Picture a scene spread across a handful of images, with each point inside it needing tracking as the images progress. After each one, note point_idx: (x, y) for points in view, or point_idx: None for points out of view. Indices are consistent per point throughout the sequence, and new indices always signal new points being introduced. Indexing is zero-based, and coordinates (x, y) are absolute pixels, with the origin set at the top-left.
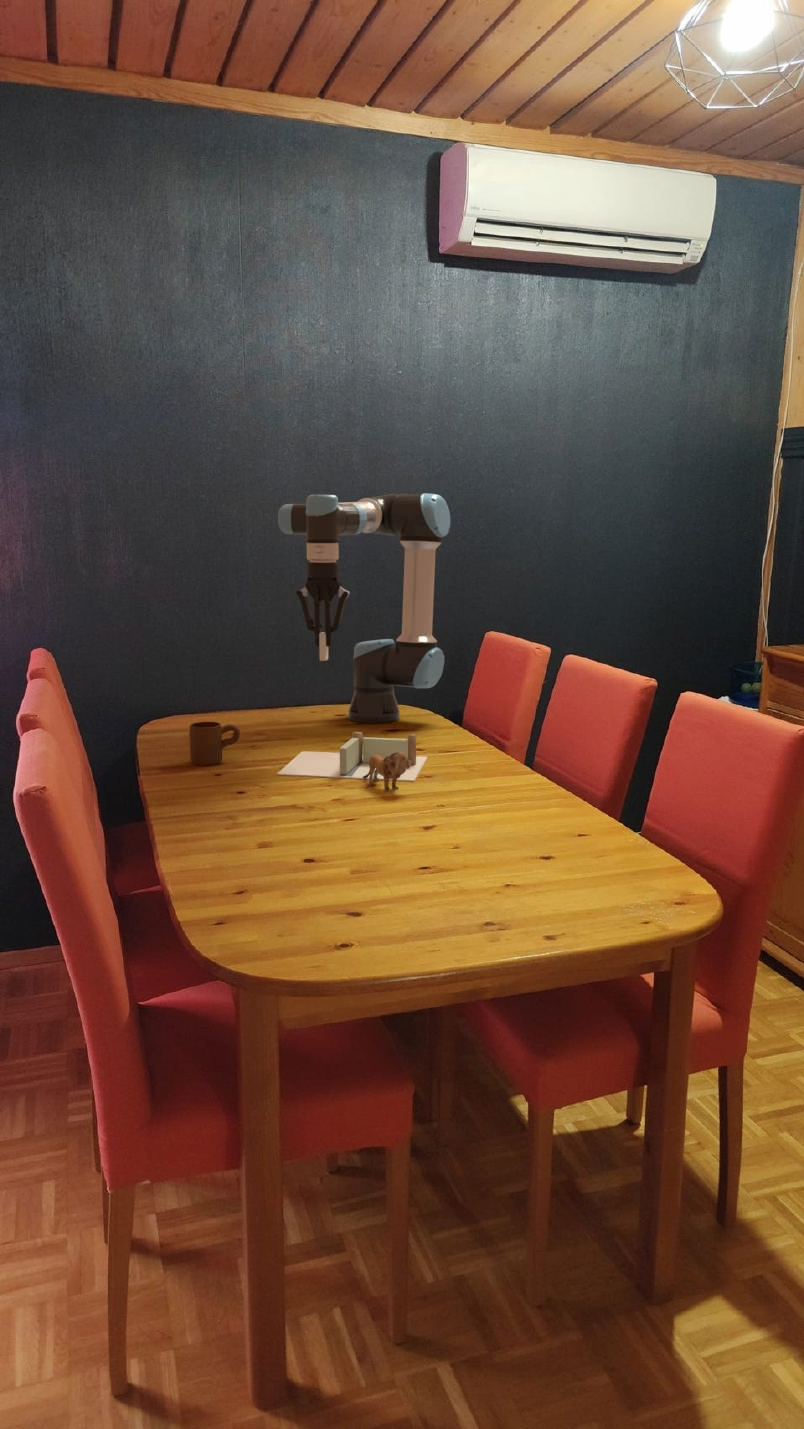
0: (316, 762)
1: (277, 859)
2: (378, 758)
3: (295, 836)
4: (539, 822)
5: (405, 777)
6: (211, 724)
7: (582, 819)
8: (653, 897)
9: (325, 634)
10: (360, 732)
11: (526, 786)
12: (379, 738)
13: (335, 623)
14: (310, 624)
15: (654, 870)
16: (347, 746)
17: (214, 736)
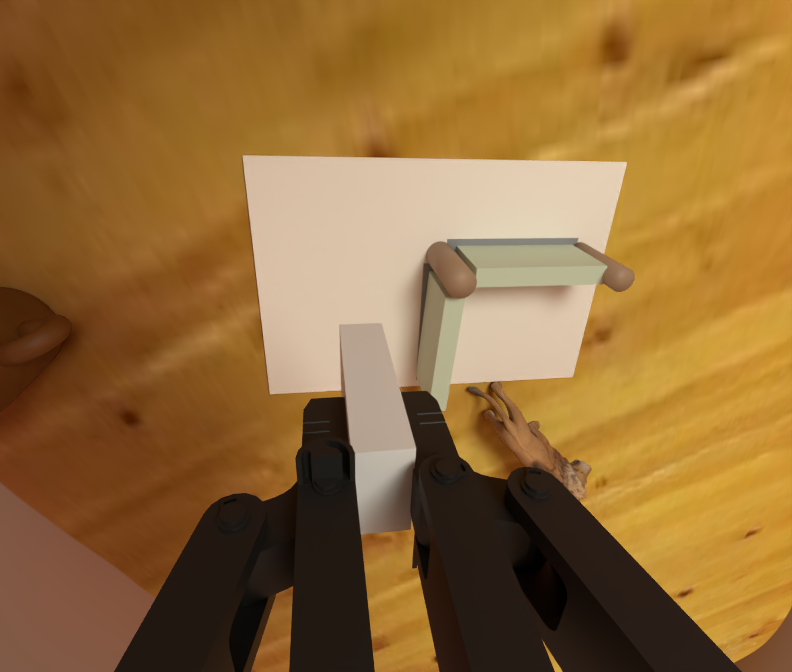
0: (331, 281)
1: (405, 664)
2: (523, 454)
3: (407, 618)
4: (719, 509)
5: (556, 361)
6: None
7: (779, 486)
8: (739, 633)
9: (409, 521)
10: (470, 278)
11: (772, 359)
12: (522, 275)
13: (544, 611)
14: (252, 633)
15: (772, 591)
16: (445, 391)
17: (17, 393)
